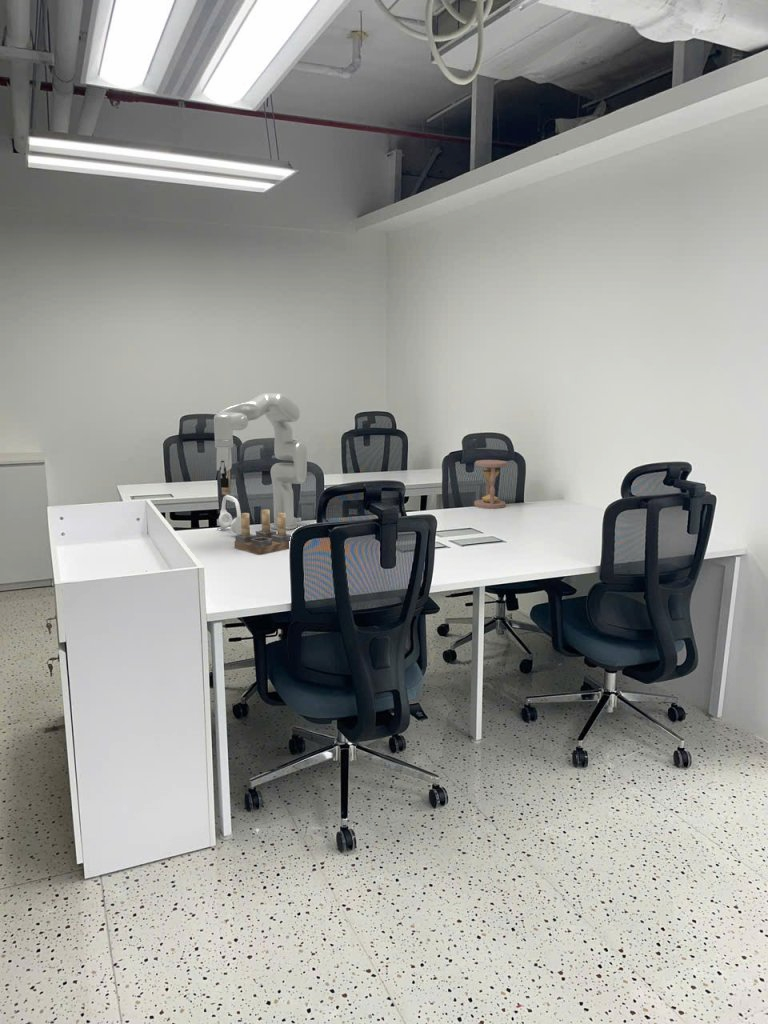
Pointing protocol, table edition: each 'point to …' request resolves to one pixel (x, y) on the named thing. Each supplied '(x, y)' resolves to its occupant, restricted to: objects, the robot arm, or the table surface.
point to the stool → (263, 535)
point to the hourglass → (490, 484)
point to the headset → (226, 518)
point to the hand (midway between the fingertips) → (225, 486)
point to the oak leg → (227, 490)
